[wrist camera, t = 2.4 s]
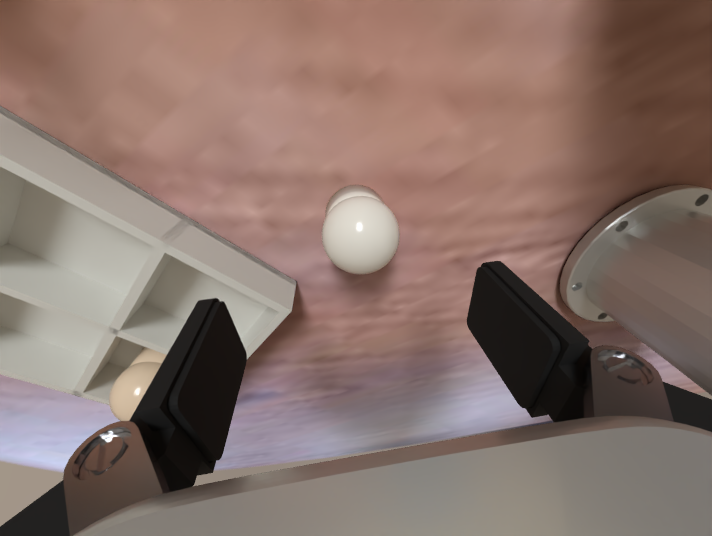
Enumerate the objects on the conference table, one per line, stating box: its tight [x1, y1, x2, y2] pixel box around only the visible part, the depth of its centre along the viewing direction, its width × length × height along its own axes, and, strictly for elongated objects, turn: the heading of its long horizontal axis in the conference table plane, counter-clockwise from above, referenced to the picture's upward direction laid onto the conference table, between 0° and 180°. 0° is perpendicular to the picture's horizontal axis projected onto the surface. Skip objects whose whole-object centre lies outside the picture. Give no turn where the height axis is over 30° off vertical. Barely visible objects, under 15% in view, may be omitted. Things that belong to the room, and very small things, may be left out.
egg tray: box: [0, 106, 296, 405], centre depth 18 cm, size 25×17×4 cm
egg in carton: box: [109, 347, 167, 421], centre depth 21 cm, size 5×5×6 cm
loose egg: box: [322, 185, 400, 274], centre depth 17 cm, size 5×5×6 cm
